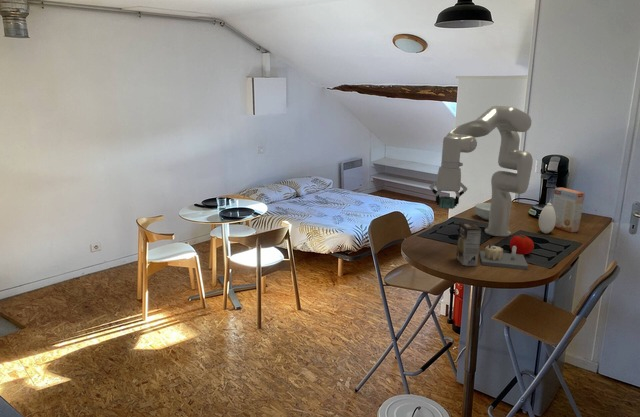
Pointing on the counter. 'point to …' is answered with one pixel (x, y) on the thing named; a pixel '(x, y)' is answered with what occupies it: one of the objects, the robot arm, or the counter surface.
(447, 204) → the teal gear
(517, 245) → the tomato
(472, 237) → the brown printed box
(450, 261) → the counter surface
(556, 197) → the cracker box
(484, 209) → the cereal bowl
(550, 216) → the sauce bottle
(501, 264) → the gear board
